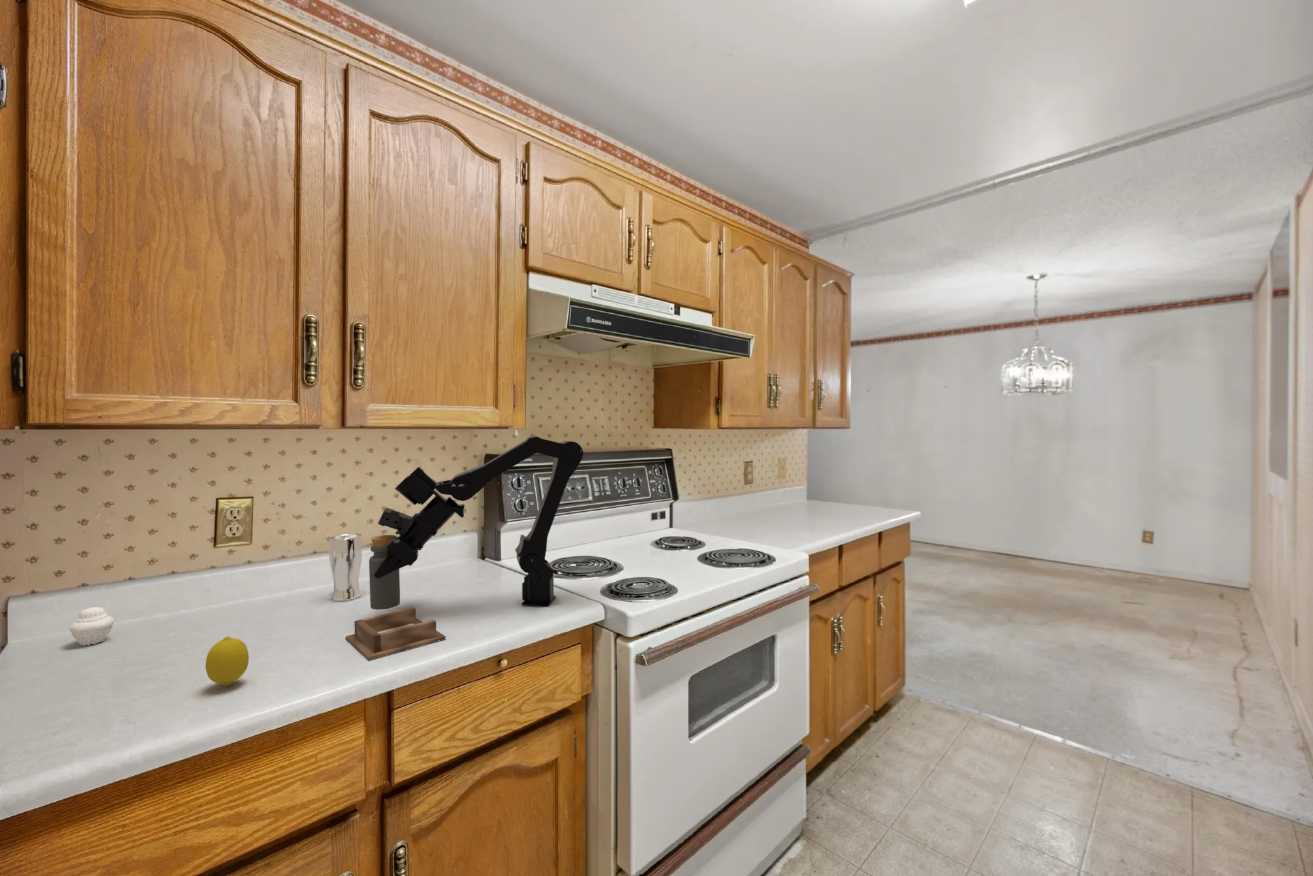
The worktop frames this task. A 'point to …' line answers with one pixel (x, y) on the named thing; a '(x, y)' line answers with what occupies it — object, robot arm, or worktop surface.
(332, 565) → the beer glass
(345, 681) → the worktop surface
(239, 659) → the lemon
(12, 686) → the worktop surface
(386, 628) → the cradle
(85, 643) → the muffin
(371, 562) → the bottle
